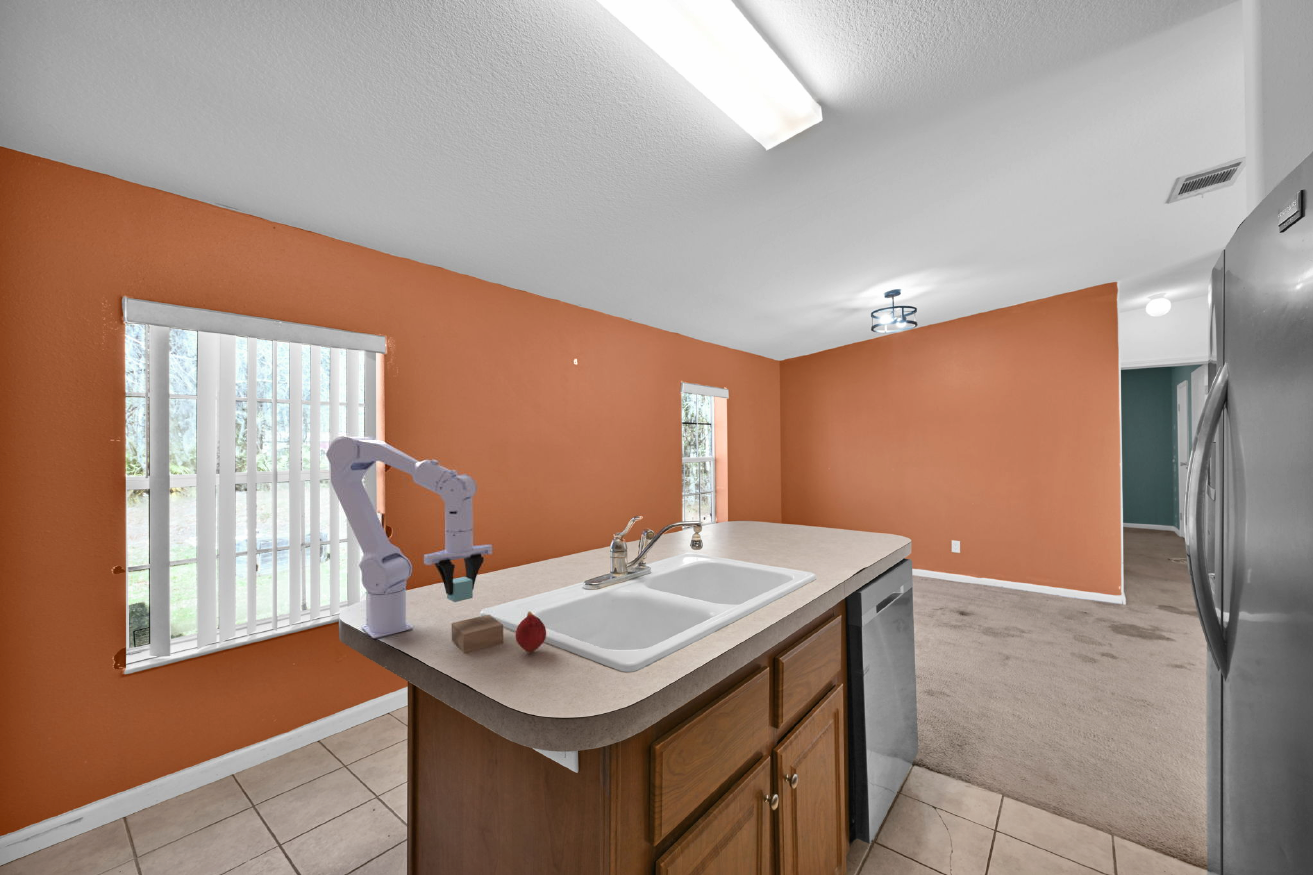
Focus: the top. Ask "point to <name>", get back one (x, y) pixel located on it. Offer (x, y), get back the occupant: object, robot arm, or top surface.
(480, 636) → the walnut block
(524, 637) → the onion
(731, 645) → the top surface
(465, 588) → the teal cube
